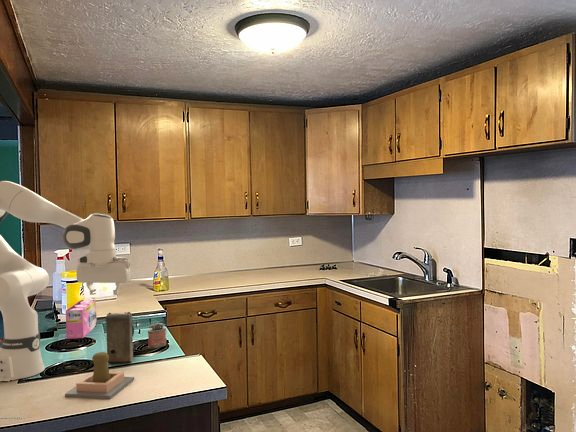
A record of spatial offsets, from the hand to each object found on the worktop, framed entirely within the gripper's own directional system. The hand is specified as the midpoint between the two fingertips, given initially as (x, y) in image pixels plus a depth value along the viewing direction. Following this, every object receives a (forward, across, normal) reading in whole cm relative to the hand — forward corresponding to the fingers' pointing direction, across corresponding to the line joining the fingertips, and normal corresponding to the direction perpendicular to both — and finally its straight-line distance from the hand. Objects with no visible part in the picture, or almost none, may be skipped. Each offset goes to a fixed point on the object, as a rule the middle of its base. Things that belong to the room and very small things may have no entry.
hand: (104, 294), depth 173 cm
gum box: (+29, +43, -49) cm, 72 cm away
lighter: (+29, -5, -31) cm, 43 cm away
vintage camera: (+29, +2, -16) cm, 33 cm away
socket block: (+29, -6, +14) cm, 33 cm away
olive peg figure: (+28, -6, +14) cm, 32 cm away
